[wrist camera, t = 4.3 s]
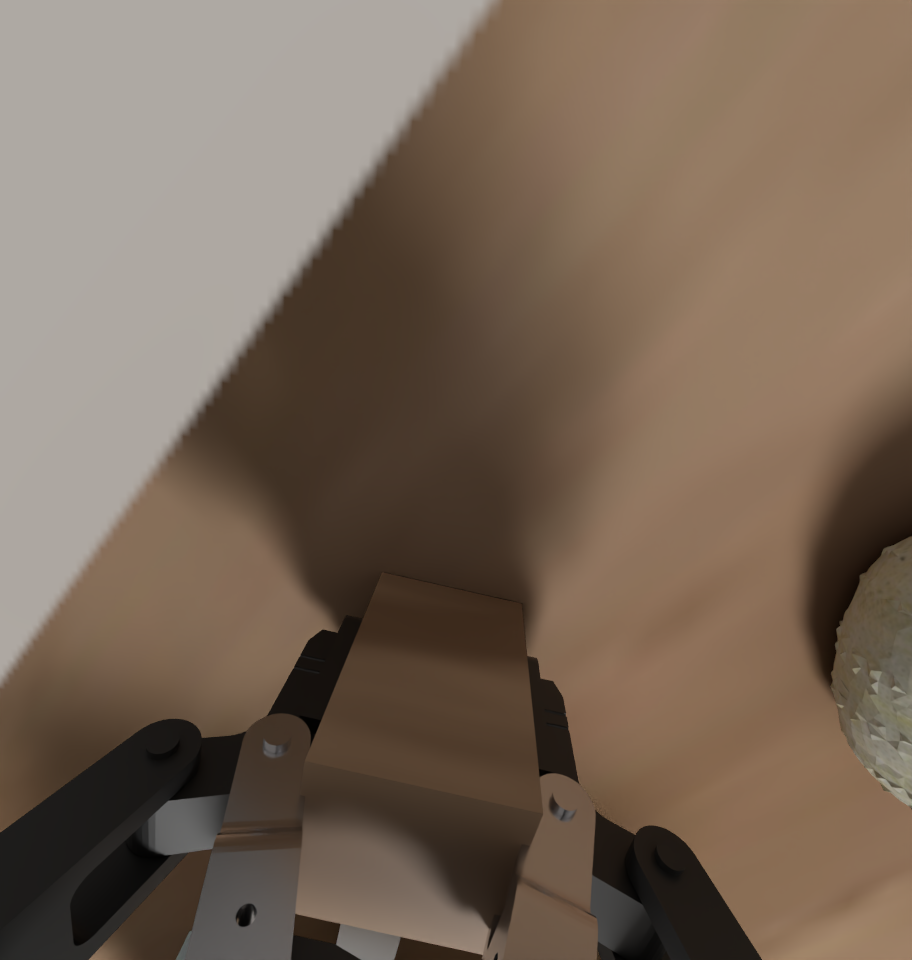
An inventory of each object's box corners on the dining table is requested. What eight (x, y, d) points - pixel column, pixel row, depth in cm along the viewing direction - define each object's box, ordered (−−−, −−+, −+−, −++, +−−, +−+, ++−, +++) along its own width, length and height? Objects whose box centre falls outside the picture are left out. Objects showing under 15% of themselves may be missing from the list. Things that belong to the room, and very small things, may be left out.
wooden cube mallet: (381, 572, 14) (304, 760, 8) (521, 603, 14) (543, 813, 8) (315, 927, 19) (242, 1185, 14) (414, 949, 19) (382, 1215, 14)
